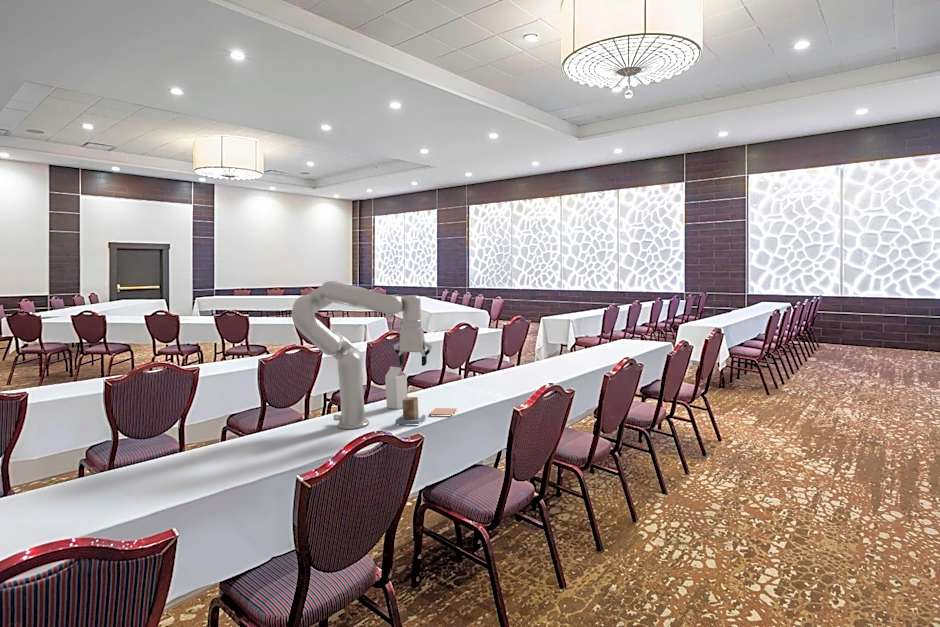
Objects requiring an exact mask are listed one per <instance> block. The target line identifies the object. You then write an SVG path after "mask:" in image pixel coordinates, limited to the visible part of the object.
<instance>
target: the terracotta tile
mask: <svg viewBox="0 0 940 627" xmlns="http://www.w3.org/2000/svg"><path fill="white" fill-rule="evenodd" d="M456 410H457V411H458V408H451V407H450V408H446V407H444V408H443V407H435V408H434V409H433V410H432V411H430V412H429V413H428V416H429V415H451V414H452V413H454V412H455V411H456ZM457 411H456V412H457ZM456 412H455V413H456ZM455 413H454V414H455Z"/></svg>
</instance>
